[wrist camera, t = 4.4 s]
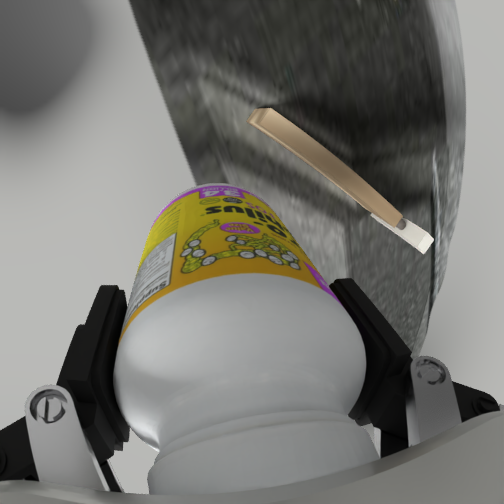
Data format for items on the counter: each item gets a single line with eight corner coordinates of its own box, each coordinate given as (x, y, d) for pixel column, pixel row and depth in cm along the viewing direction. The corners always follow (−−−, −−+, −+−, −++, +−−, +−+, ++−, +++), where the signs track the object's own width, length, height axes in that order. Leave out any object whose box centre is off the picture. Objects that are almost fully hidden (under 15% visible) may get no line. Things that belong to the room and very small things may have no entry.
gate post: (379, 202, 33) (427, 232, 25) (386, 209, 34) (434, 239, 26) (370, 215, 34) (416, 247, 26) (378, 221, 34) (423, 254, 27)
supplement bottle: (304, 230, 16) (466, 442, 5) (226, 316, 18) (279, 542, 6) (202, 150, 13) (265, 408, 2) (125, 257, 15) (64, 521, 3)
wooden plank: (254, 108, 26) (271, 107, 21) (377, 202, 33) (409, 221, 28) (245, 121, 27) (259, 123, 21) (370, 213, 34) (400, 233, 28)
